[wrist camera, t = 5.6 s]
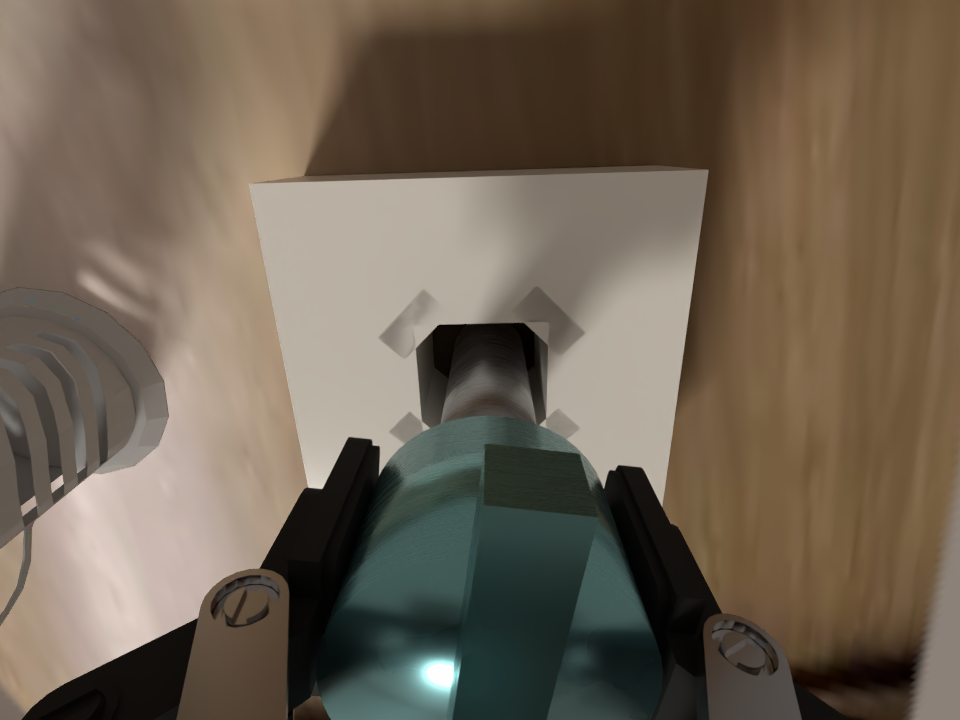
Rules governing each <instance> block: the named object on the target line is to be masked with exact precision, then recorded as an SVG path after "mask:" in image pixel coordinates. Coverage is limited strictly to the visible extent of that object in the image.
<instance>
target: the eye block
mask: <svg viewBox="0 0 960 720" xmlns="http://www.w3.org/2000/svg"><path fill="white" fill-rule="evenodd" d="M708 172H709V170H706V169H694V168H682V167H670V166H659V165H650V166H617V167H585V168H552V169H520V170H487V171H454V172H422V173H389V174H356V175H324V176H301V177H294V178H286V179H279V180H272V181H265V182H258V183H251V184H249V187H250V192H251V197H252V203H253V208H254V213H255V218H256V223H257V228H258V233H259V238H260V243H261V248H262V254H263V259H264V264H265V269H266V274H267V279H268V284H269V289H270V294H271V299H272V304H273V310H274V315H275V320H276V325H277V330H278V335H279V340H280V345H281V350H282V355H283V360H284V366H285V371H286V376H287V381H288V386H289V391H290V396H291V401H292V406H293V411H294V417H295V422H296V427H297V432H298V437H299V442H300V447H301V452H302V457H303V462H304V467H305V473H306V478H307V483H308V488H317V489H323V487H324V485H325V483H326V481H327V479H328V477H329V475H330V473H331V471H332V469H333V467H334V465H335V463H336V461H337V459H338V457H339V455H340V453H341V451H342V449H343V447H344V445H345V443H346V441H347V439H348V437H355V438H365V439H372V443H373V445H374V446H380V463H379V475H380V473H381V471H382V469H383V468H384V466H385V465H386V463H387V462H388V461H389V459H390V458H391V457H392V456H393V455H394V454H395V453H396V452H397V450H398V449H399V448H401V447H402V446H403V445H404V444H405V443H407V442H408V441H409V440H410V439H412V438H413V437H415V436H417V435H418V434H420V433H422V432H423V431H425V430H427V429H430V428H432V427H434V426H436V425H439V424H441V418H442V413H443V407H444V401H445V396H446V390H447V385H448V378H447V377H445V376H444V375H443V374H442V373H441V372H439V371H438V370H437V369H436V368H435V367H434V353H433V339H432V331H433V330H434V329H435V328H436V327H437V326H438V325H446V324H487V323H525V324H526V325H527V326H528V327H529V328H530V329H531V330H532V331H533V332H534V366H533V367H531V368H530V369H529V370H528V371H527V373H528V378H529V384H530V390H531V395H532V401H533V406H534V412H535V417H536V423H537V424H538V425H540V426H542V427H545V428H547V429H549V430H552V431H553V432H555V433H557V434H558V435H560V436H562V437H563V438H565V439H566V440H568V441H569V442H570V443H571V444H573V445H574V446H575V447H576V448H578V450H579V451H580V452H581V453H582V454H583V455H584V456H585V457H586V458H587V459H588V461H589V462H590V463H591V465H592V466H593V468H594V469H595V471H596V473H597V475H598V477H599V479H600V481H601V483H602V486H603V489H604V487H605V483H606V479H607V475H608V472H609V471H610V470H616V468H617V466H618V465H624V466H634V467H641V468H643V470H644V471H645V473H646V475H647V477H648V480H649V482H650V484H651V486H652V488H653V490H654V492H655V494H656V496H657V498H658V500H659V502H660V504H661V506H662V504H663V497H664V490H665V483H666V476H667V468H668V461H669V454H670V447H671V439H672V432H673V425H674V418H675V411H676V403H677V396H678V389H679V382H680V374H681V367H682V360H683V353H684V346H685V338H686V331H687V324H688V317H689V309H690V302H691V295H692V288H693V280H694V273H695V266H696V259H697V252H698V244H699V237H700V230H701V223H702V215H703V208H704V201H705V194H706V187H707V179H708Z"/></svg>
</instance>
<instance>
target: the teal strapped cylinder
mask: <svg viewBox="0 0 960 720" xmlns="http://www.w3.org/2000/svg"><path fill="white" fill-rule="evenodd" d="M316 679H317V688H318V691H319V694H320V698H321V701H322V703H323V705H324V707H325V709H326V711H327V713H328V716H329V717H330V719H331V720H650V719H651V717H652V715H653V713H654V711H655V709H656V707H657V705H658V701H659V698H660V694H661V690H662V681H663V668H662V659H661V655H660V652H659V649H658V646H657V642H656V639H655V637H654V634H653V631H652V628H651V625H650V622H649V619H648V616H647V613H646V610H645V608H644V605H643V602H642V599H641V596H640V593H639V590H638V587H637V584H636V581H635V579H634V576H633V573H632V570H631V567H630V564H629V561H628V558H627V555H626V553H625V550H624V547H623V544H622V541H621V538H620V535H619V532H618V529H617V526H616V524H615V521H614V518H613V515H612V512H611V509H610V506H609V503H608V500H607V497H606V495H605V492H604V489H603V486H602V483H601V481H600V479H599V477H598V475H597V473H596V471H595V469H594V468H593V466H592V465H591V463H590V462H589V461H588V459H587V458H586V457H585V456H584V455H583V454H582V453H581V452H580V451H579V450H578V448H576V447H575V446H574V445H573V444H571V443H570V442H569V441H568V440H566V439H565V438H563V437H562V436H560V435H558V434H557V433H555V432H553V431H552V430H549V429H547V428H545V427H542V426H540V425H538V424H537V423H536V417H535V412H534V406H533V401H532V395H531V390H530V384H529V378H528V373H527V367H526V362H525V356H524V351H523V345H522V341H521V338H520V336H519V334H518V332H517V331H516V330H515V328H514V327H513V326H511V325H510V324H509V323H487V324H467V325H466V326H465V327H463V329H462V330H461V331H460V332H459V334H458V336H457V338H456V341H455V346H454V351H453V357H452V362H451V368H450V374H449V379H448V385H447V390H446V396H445V401H444V407H443V413H442V418H441V424H439V425H436V426H434V427H432V428H430V429H427V430H425V431H423V432H422V433H420V434H418V435H417V436H415V437H413V438H412V439H410V440H409V441H408V442H407V443H405V444H404V445H403V446H402V447H401V448H399V449H398V450H397V452H396V453H395V454H394V455H393V456H392V457H391V458H390V459H389V461H388V462H387V463H386V465H385V466H384V468H383V469H382V471H381V473H380V475H379V477H378V479H377V482H376V484H375V487H374V490H373V493H372V496H371V499H370V502H369V504H368V507H367V510H366V513H365V516H364V519H363V522H362V525H361V528H360V531H359V533H358V536H357V539H356V542H355V545H354V548H353V551H352V554H351V557H350V560H349V563H348V565H347V568H346V571H345V574H344V577H343V580H342V583H341V586H340V589H339V592H338V594H337V597H336V600H335V603H334V606H333V609H332V612H331V615H330V618H329V621H328V624H327V626H326V629H325V632H324V635H323V638H322V641H321V644H320V648H319V652H318V655H317V664H316Z"/></svg>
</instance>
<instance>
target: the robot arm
mask: <svg viewBox="0 0 960 720" xmlns="http://www.w3.org/2000/svg"><path fill="white" fill-rule="evenodd" d="M379 463H380V446H374V445H373V443H372V439H365V438H355V437H348V439H347V441H346V443H345V445H344V447H343V449H342V451H341V453H340V455H339V457H338V459H337V461H336V463H335V465H334V467H333V469H332V471H331V473H330V475H329V477H328V479H327V481H326V483H325V485H324V487H323V489H317V488H305V489H304V490H303V492H302V493H301V495H300V497H299V498H298V500H297V502H296V504H295V506H294V507H293V509H292V511H291V513H290V515H289V516H288V518H287V520H286V522H285V524H284V525H283V527H282V529H281V531H280V533H279V534H278V536H277V538H276V540H275V542H274V543H273V545H272V547H271V549H270V551H269V552H268V554H267V556H266V558H265V560H264V561H263V563H262V565H261V567H260V569H248V570H244V571H240V572H236V573H234V574H232V575H230V576H228V577H226V578H224V579H223V580H221V581H220V582H219V583H217V584H216V585H215V586H213V587H212V589H211V590H210V591H209V592H208V593H207V595H206V596H205V598H204V600H203V602H202V605H201V607H200V612H199V617H198V618H197V619H195V620H193V621H191V622H189V623H187V624H185V625H183V626H181V627H179V628H177V629H175V630H173V631H171V632H169V633H167V634H165V635H163V636H161V637H159V638H157V639H155V640H153V641H151V642H149V643H147V644H145V645H143V646H141V647H139V648H136V649H134V650H132V651H130V652H128V653H126V654H124V655H122V656H120V657H118V658H116V659H114V660H112V661H110V662H108V663H106V664H104V665H102V666H100V667H98V668H96V669H94V670H92V671H90V672H88V673H86V674H84V675H82V676H80V677H78V678H76V679H74V680H72V681H70V682H68V683H66V684H64V685H62V686H60V687H59V688H57V689H55V690H54V691H52V692H50V693H49V694H47V695H46V696H45V697H44V698H43V699H41V700H40V701H39V702H38V703H37V704H35V705H34V706H33V707H32V708H31V709H30V710H29V711H28V713H27V714H26V715H25V716H24V718H23V719H22V720H294V708H296V707H297V706H299V705H300V704H302V703H303V702H305V701H306V700H307V699H309V698H310V697H311V695H312V696H320V694H319V691H318V688H317V679H316V664H317V655H318V652H319V648H320V644H321V641H322V638H323V635H324V632H325V629H326V626H327V624H328V621H329V618H330V615H331V612H332V609H333V606H334V603H335V600H336V597H337V594H338V592H339V589H340V586H341V583H342V580H343V577H344V574H345V571H346V568H347V565H348V563H349V560H350V557H351V554H352V551H353V548H354V545H355V542H356V539H357V536H358V533H359V531H360V528H361V525H362V522H363V519H364V516H365V513H366V510H367V507H368V504H369V502H370V499H371V496H372V493H373V490H374V487H375V484H376V482H377V479H378V477H379ZM604 492H605V495H606V497H607V500H608V503H609V506H610V509H611V512H612V515H613V518H614V521H615V524H616V526H617V529H618V532H619V535H620V538H621V541H622V544H623V547H624V550H625V553H626V555H627V558H628V561H629V564H630V567H631V570H632V573H633V576H634V579H635V581H636V584H637V587H638V590H639V593H640V596H641V599H642V602H643V605H644V608H645V610H646V613H647V616H648V619H649V622H650V625H651V628H652V631H653V634H654V637H655V639H656V642H657V646H658V649H659V652H660V655H661V659H662V668H663V681H662V690H661V694H660V698H659V701H658V705H657V707H656V709H655V711H654V713H653V715H652V717H651V719H650V720H849V719H848V718H846V717H845V716H843V715H842V714H841V713H839V712H838V711H836V710H835V709H833V708H832V707H830V706H829V705H828V704H826V703H825V702H823V701H822V700H820V699H819V698H817V697H816V696H815V695H813V694H812V693H810V692H809V691H807V690H806V689H804V688H803V687H801V686H800V685H799V684H797V683H796V682H794V681H793V680H792V677H791V673H790V669H789V665H788V661H787V659H786V656H785V654H784V652H783V650H782V649H781V647H780V646H779V645H778V643H777V642H776V640H775V639H774V638H773V637H771V636H770V635H769V634H768V633H767V632H766V631H765V630H764V629H762V628H761V627H759V626H758V625H756V624H755V623H753V622H751V621H749V620H747V619H745V618H743V617H740V616H736V615H732V614H722V612H721V610H720V608H719V606H718V604H717V602H716V600H715V598H714V596H713V594H712V592H711V590H710V589H709V587H708V585H707V583H706V581H705V579H704V577H703V575H702V573H701V571H700V569H699V567H698V565H697V563H696V561H695V559H694V557H693V555H692V553H691V551H690V549H689V547H688V545H687V543H686V541H685V539H684V538H683V536H682V534H681V532H680V530H679V529H678V527H677V526H675V525H673V524H670V522H669V520H668V518H667V516H666V514H665V512H664V510H663V508H662V506H661V504H660V502H659V500H658V498H657V496H656V494H655V492H654V490H653V488H652V486H651V484H650V482H649V480H648V477H647V475H646V473H645V471H644V470H643V468H641V467H634V466H624V465H618V466H617V468H616V470H610V471H609V472H608V475H607V479H606V483H605V487H604Z"/></svg>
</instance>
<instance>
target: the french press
mask: <svg viewBox="0 0 960 720" xmlns="http://www.w3.org/2000/svg"><path fill="white" fill-rule="evenodd" d="M168 417H169V416H168V409H167V402H166V395H165V388H164V381H163V379H162V378H161V376H160V374H159V372H158V371H157V369H156V367H155V366H154V364H153V362H152V360H151V359H150V357H149V355H148V354H147V352H146V350H145V348H144V347H143V345H142V344H141V343H140V342H139V341H138V340H137V339H136V338H134V337H133V336H132V335H131V334H130V333H129V332H128V331H127V330H125V329H124V328H123V327H122V326H121V325H120V324H119V323H118V322H116V321H115V320H114V319H113V318H112V317H111V316H110V315H109V314H108V313H106V312H104V311H102V310H100V309H97V308H95V307H93V306H91V305H89V304H87V303H84V302H82V301H80V300H78V299H76V298H74V297H72V296H69V295H67V294H65V293H63V292H55V291H46V290H37V289H28V288H19V287H18V288H15V289H11V290H8V291H5V292H2V293H0V549H1V548H2V547H3V546H5V545H6V544H7V543H8V542H9V541H11V540H12V539H13V538H14V537H15V536H17V535H18V534H19V533H20V532H22V531H23V530H24V540H23V561H22V566H21V570H20V575H19V579H18V584H17V587H16V589H15V591H14V593H13V595H12V596H11V598H10V600H9V602H8V604H7V606H6V608H5V609H4V611H3V612H2V613H1V615H0V625H1V624H2V623H3V621H4V620H5V618H6V617H7V615H8V614H9V612H10V610H11V609H12V607H13V605H14V604H15V602H16V600H17V598H18V597H19V595H20V593H21V592H22V590H23V588H24V584H25V581H26V577H27V574H28V570H29V566H30V563H31V543H32V526H33V523H34V521H35V520H36V519H37V518H39V517H40V516H41V515H42V514H43V513H45V512H46V511H47V510H48V509H50V508H51V507H52V506H53V505H54V504H56V503H57V502H58V501H59V500H61V499H62V498H63V497H64V496H65V495H67V494H68V493H69V492H70V491H72V490H73V489H74V488H75V487H76V486H78V485H79V484H80V483H81V482H82V481H84V480H85V479H86V478H87V477H89V476H90V475H91V474H92V473H95V474H104V473H108V472H112V471H116V470H120V469H124V468H128V467H132V466H135V465H136V464H137V463H138V462H140V461H141V460H142V459H143V458H144V457H146V456H147V455H148V454H149V453H150V452H151V451H153V450H154V449H155V448H156V447H157V446H158V445H159V442H160V439H161V436H162V434H163V431H164V428H165V425H166V422H167V420H168ZM77 472H78V473H77ZM62 474H63V481H64V484H63V485H62V486H61V487H60V488H58V489H57V490H56V491H54V492H53V493H52V491H51V483H52V482H53V481H54V480H55V479H57V478H58V477H59V476H61V475H62ZM34 495H35V497H36V504H37V506H36V507H34V508H33V509H32V510H31V511H29V512H28V513H27V514H25V515H24V516H23V517H22V512H21V507H20V506H21V505H23V504H24V503H25V502H27V501H28V500H29V499H31V498H32V497H33V496H34Z"/></svg>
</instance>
